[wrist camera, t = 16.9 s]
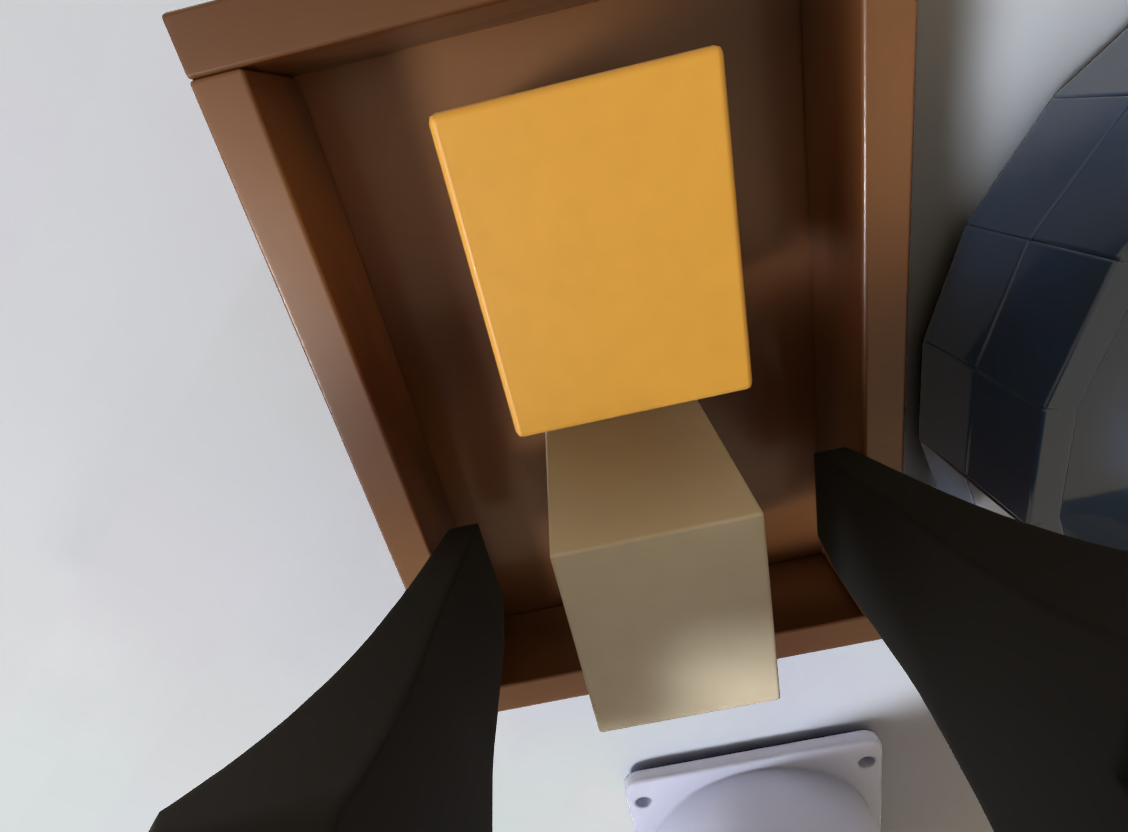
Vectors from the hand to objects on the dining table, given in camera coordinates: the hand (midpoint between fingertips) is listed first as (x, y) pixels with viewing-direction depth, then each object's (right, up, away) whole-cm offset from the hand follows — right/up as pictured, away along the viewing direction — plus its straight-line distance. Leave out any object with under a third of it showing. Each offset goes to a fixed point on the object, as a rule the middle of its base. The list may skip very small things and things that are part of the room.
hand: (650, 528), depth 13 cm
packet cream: (0, +1, +2) cm, 2 cm away
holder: (-1, +4, +1) cm, 4 cm away
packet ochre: (-2, +6, -1) cm, 6 cm away
